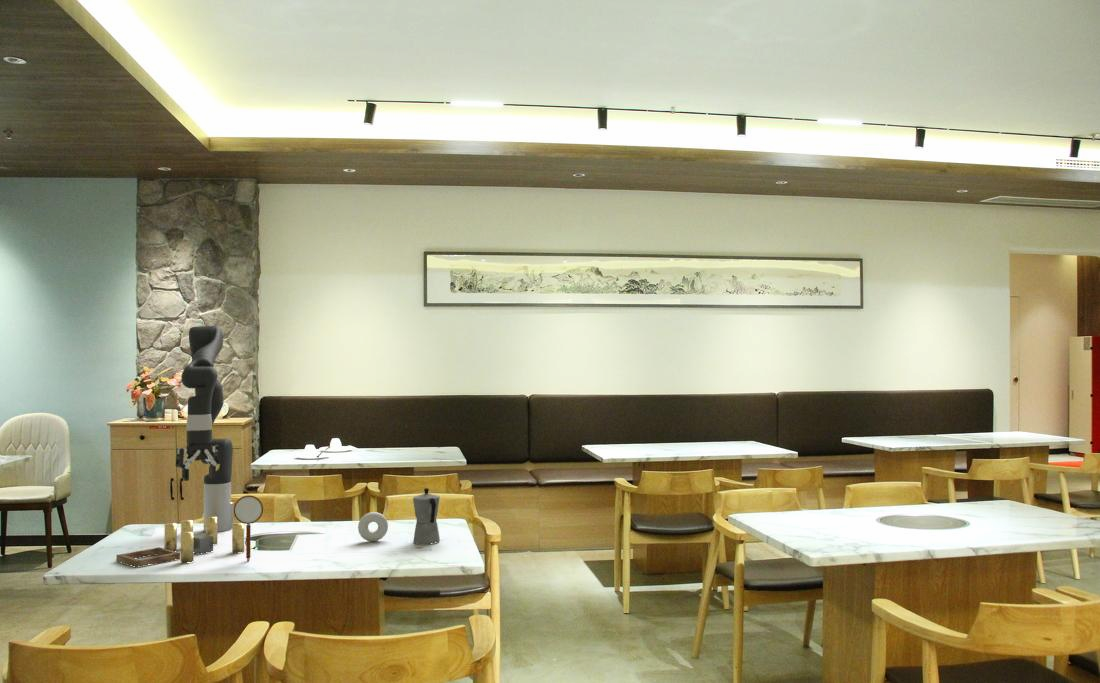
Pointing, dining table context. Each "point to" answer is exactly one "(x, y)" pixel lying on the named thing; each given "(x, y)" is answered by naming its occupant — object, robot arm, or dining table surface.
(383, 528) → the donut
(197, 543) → the grey block
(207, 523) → the standing stones
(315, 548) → the dining table surface
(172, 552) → the tray
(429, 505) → the coffeepot
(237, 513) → the magnifying glass
